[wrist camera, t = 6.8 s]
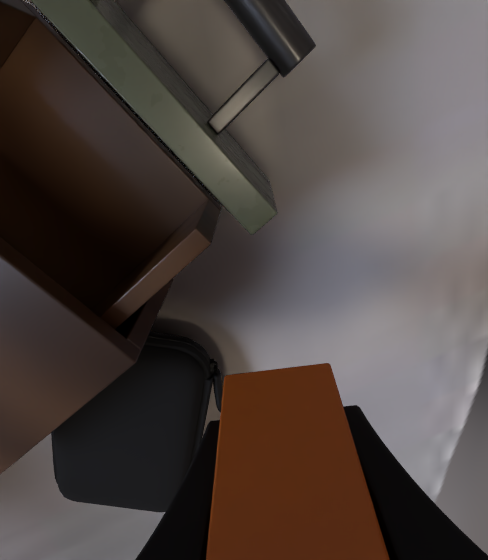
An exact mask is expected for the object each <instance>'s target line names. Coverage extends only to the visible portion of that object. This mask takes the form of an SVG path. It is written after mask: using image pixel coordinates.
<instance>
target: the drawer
mask: <svg viewBox="0 0 488 560" xmlns="http://www.w3.org/2000/svg"><path fill="white" fill-rule="evenodd" d="M30 1H31V2H32V3H33V4H34V5H35V6H36V7H37V8H38V9H39V10H40V11H41V12H42V13H43V14H44V15H45V16H46V18H47V19H48V20H49V21H50V22H51V23H52V24H53V25H54V26H55V27H56V28H57V29H58V30H59V31H60V32H61V33H62V35H63V36H64V37H65V38H66V39H67V40H68V41H69V42H70V43H71V44H72V45H73V46H74V47H75V48H76V49H77V50H78V52H79V53H80V54H81V55H82V56H83V57H84V58H85V59H86V60H87V61H88V62H89V63H90V64H91V65H92V66H93V67H94V69H95V70H96V71H97V72H98V73H99V74H100V75H101V76H102V77H103V78H104V79H105V80H106V81H107V82H108V83H109V84H110V86H111V87H112V88H113V89H114V90H115V91H116V92H117V93H118V94H119V95H120V96H121V97H122V98H123V99H124V100H125V101H126V103H127V104H128V105H129V106H130V107H131V108H132V109H133V110H134V111H135V112H136V113H137V114H138V115H139V116H140V117H141V118H142V120H143V121H144V122H145V123H146V124H147V125H148V126H149V127H150V128H151V129H152V130H153V131H154V132H155V133H156V134H157V135H158V137H159V138H160V139H161V140H162V141H163V142H164V143H165V144H166V145H167V146H168V147H169V148H170V149H171V150H172V151H173V152H174V154H175V155H176V156H177V157H178V158H179V159H180V160H181V161H182V162H183V163H184V164H185V165H186V166H187V167H188V168H189V169H190V171H191V172H192V173H193V174H194V175H195V176H196V177H197V178H198V179H199V180H200V181H201V182H202V183H203V184H204V185H205V186H206V188H207V189H208V190H209V191H210V192H211V193H212V194H213V195H214V196H215V197H216V198H217V199H218V200H219V201H220V202H221V203H222V205H223V206H224V207H225V208H226V209H227V210H228V211H229V212H230V213H231V214H232V215H233V216H234V217H235V218H236V219H237V220H238V222H239V223H240V224H241V225H242V226H243V227H244V228H245V229H246V230H247V231H248V232H249V233H250V234H251V235H253V234H255V233H256V232H257V231H258V230H259V229H260V228H262V227H263V226H264V225H265V224H266V223H267V222H268V221H270V220H271V219H272V218H273V217H274V216H275V215H277V209H276V205H275V201H274V197H273V193H272V188H271V184H270V181H269V180H268V178H267V177H266V176H265V175H264V174H263V173H262V172H261V170H260V169H259V168H258V167H257V166H256V165H255V163H254V162H253V161H252V160H251V159H250V158H249V156H248V155H247V154H246V153H245V152H244V151H243V150H242V148H241V147H240V146H239V145H238V144H237V143H236V141H235V140H234V139H233V138H232V137H231V136H230V134H229V133H228V132H227V131H226V130H225V128H226V127H227V126H228V125H229V124H230V123H231V122H232V121H233V120H234V119H235V118H236V117H237V116H238V115H239V114H240V113H241V112H242V111H243V110H244V109H245V108H246V107H247V106H248V105H249V104H250V103H251V102H252V101H253V100H254V99H255V98H256V97H257V96H258V95H259V94H260V93H261V92H262V91H263V90H264V89H265V88H266V87H267V86H268V85H269V84H270V83H271V82H272V81H273V80H274V79H275V78H276V77H277V76H278V75H279V73H280V74H281V76H282V77H283V78H284V77H285V76H286V75H287V74H289V73H290V72H291V71H292V70H293V69H294V68H295V67H296V66H297V65H298V64H299V63H300V62H301V61H302V60H303V59H304V58H305V57H306V56H307V55H308V54H309V53H310V52H311V51H312V50H313V49H314V48H315V46H316V44H315V42H314V41H313V40H312V38H311V37H310V35H309V34H308V32H307V31H306V30H305V28H304V27H303V25H302V24H301V23H300V21H299V20H298V18H297V17H296V15H295V14H294V13H293V11H292V10H291V8H290V7H289V6H288V4H287V3H286V1H285V0H224V1H225V2H226V4H227V5H228V6H229V7H230V9H231V10H232V11H233V13H234V14H235V15H236V17H237V18H238V19H239V21H240V22H241V23H242V25H243V26H244V27H245V28H246V30H247V31H248V32H249V34H250V35H251V36H252V38H253V39H254V40H255V42H256V43H257V44H258V46H259V47H260V48H261V49H262V51H263V52H264V53H265V55H266V56H267V57H268V59H267V60H266V61H265V62H264V63H263V64H262V65H261V66H260V67H259V68H258V69H257V70H256V71H255V72H254V73H253V74H252V75H251V76H250V77H249V78H248V79H247V80H246V81H245V82H244V83H243V84H242V85H241V87H240V88H239V89H238V90H237V91H236V92H235V93H234V94H233V95H232V96H231V97H230V98H229V99H228V100H227V101H226V102H225V103H224V104H223V105H222V106H221V107H220V108H219V109H218V110H217V111H216V112H215V114H214V115H212V114H211V113H210V111H209V110H208V109H207V108H206V107H205V106H204V104H203V103H202V102H201V101H200V100H199V99H198V97H197V96H196V95H195V94H194V93H193V92H192V91H191V89H190V88H189V87H188V86H187V85H186V84H185V82H184V81H183V80H182V79H181V78H180V77H179V75H178V74H177V73H176V72H175V71H174V70H173V69H172V67H171V66H170V65H169V64H168V63H167V62H166V60H165V59H164V58H163V57H162V56H161V55H160V53H159V52H158V51H157V50H156V49H155V48H154V47H153V45H152V44H151V43H150V42H149V41H148V40H147V38H146V37H145V36H144V35H143V34H142V33H141V32H140V30H139V29H138V28H137V27H136V26H135V25H134V23H133V22H132V21H131V20H130V19H129V18H128V16H127V15H126V14H125V13H124V12H123V11H122V10H121V8H120V7H119V6H118V5H117V4H116V3H115V1H114V0H30ZM221 208H222V207H221V205H220V204H219V203H218V202H217V201H216V200H215V199H214V198H213V197H212V196H211V195H210V194H209V193H208V192H207V191H206V190H205V189H204V187H203V186H202V185H201V184H200V183H199V182H198V181H197V180H196V179H195V178H194V177H193V176H192V175H191V174H190V173H189V172H188V171H187V169H186V168H185V167H184V166H183V165H182V164H181V163H180V162H179V161H178V160H177V159H176V158H175V157H174V156H173V155H172V154H171V153H170V151H169V150H168V149H167V148H166V147H165V146H164V145H163V144H162V143H161V142H160V141H159V140H158V139H157V138H156V137H155V136H154V135H153V133H152V132H151V131H150V130H149V129H148V128H147V127H146V126H145V125H144V124H143V123H142V122H141V121H140V120H139V119H138V118H137V117H136V115H135V114H134V113H133V112H132V111H131V110H130V109H129V108H128V107H127V106H126V105H125V104H124V103H123V102H122V101H121V100H120V99H119V97H118V96H117V95H116V94H115V93H114V92H113V91H112V90H111V89H110V88H109V87H108V86H107V85H106V84H105V83H104V82H103V81H102V79H101V78H100V77H99V76H98V75H97V74H96V73H95V72H94V71H93V70H92V69H91V68H90V67H89V66H88V65H87V64H86V63H85V61H84V60H83V59H82V58H81V57H80V56H79V55H78V54H77V53H76V52H75V51H74V50H73V49H72V48H71V47H70V46H69V45H68V43H67V42H66V41H65V40H64V39H63V38H62V37H61V36H60V35H59V34H58V33H57V32H56V31H55V30H54V29H53V28H52V27H51V25H50V24H49V23H48V22H47V21H46V20H45V19H44V18H43V17H42V16H41V15H40V14H39V13H38V12H37V11H36V10H35V9H34V7H33V6H32V5H30V4H28V3H26V2H24V1H22V0H0V238H2V239H3V240H4V241H5V242H7V243H8V244H9V245H10V246H12V247H13V248H14V249H15V250H17V251H18V252H19V253H20V254H22V255H23V256H24V257H25V258H27V259H28V260H29V261H30V262H32V263H33V264H34V265H35V266H36V267H38V268H39V269H40V270H41V271H43V272H44V273H45V274H46V275H48V276H49V277H50V278H51V279H53V280H54V281H55V282H56V283H58V284H59V285H60V286H61V287H63V288H64V289H65V290H66V291H68V292H69V293H70V294H71V295H72V296H74V297H75V298H76V299H77V300H79V301H80V302H81V303H82V304H84V305H85V306H86V307H87V308H89V309H90V310H91V311H92V312H94V313H95V314H96V315H97V316H99V317H100V318H101V319H102V320H103V321H105V322H106V323H107V324H108V325H110V326H111V327H112V328H113V329H116V328H117V327H118V326H120V325H121V324H122V323H123V322H124V321H125V320H126V319H127V318H129V317H130V316H131V315H132V314H133V313H134V312H135V311H136V310H138V309H139V308H140V307H141V306H142V305H143V304H144V303H145V302H147V301H148V300H149V299H150V298H151V297H152V296H153V295H154V294H156V293H157V292H158V291H159V290H160V289H161V288H162V287H163V286H165V285H166V284H167V283H168V282H169V281H170V280H171V279H172V278H174V277H175V276H176V275H177V274H178V273H179V272H180V271H181V270H182V269H184V268H185V267H186V266H187V265H188V264H189V263H190V262H191V261H193V260H194V259H195V258H196V257H197V256H198V255H199V254H200V253H202V252H203V251H204V250H205V249H206V248H207V247H208V246H209V245H211V242H212V239H213V235H214V232H215V229H216V225H217V222H218V219H219V215H220V212H221Z"/></svg>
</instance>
